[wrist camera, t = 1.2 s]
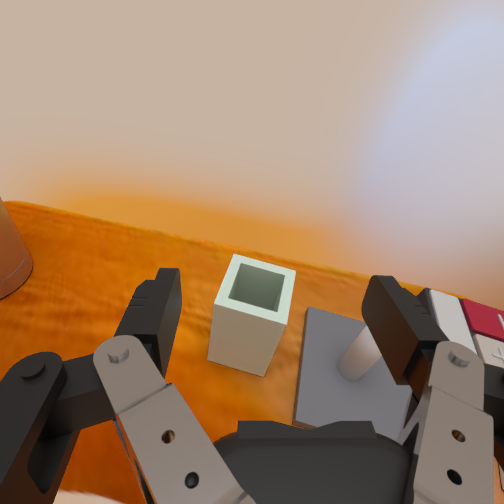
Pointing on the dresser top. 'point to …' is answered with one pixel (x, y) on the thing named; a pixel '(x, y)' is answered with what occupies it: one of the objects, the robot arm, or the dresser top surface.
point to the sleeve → (250, 314)
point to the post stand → (345, 377)
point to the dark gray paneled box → (468, 324)
